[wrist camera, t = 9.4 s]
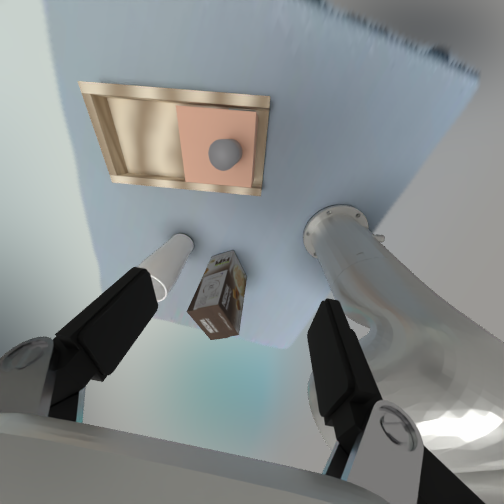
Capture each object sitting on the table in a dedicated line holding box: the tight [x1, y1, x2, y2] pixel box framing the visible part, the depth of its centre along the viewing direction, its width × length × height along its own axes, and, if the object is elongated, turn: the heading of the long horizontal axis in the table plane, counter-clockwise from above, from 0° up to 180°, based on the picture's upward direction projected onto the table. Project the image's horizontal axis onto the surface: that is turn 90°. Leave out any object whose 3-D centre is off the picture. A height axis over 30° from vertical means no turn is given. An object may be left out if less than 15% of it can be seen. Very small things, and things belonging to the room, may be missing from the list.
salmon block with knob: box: [176, 105, 258, 188], centre depth 24 cm, size 10×9×12 cm
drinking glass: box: [137, 234, 194, 302], centre depth 35 cm, size 7×7×15 cm
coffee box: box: [187, 250, 247, 340], centre depth 38 cm, size 9×6×16 cm
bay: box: [78, 81, 270, 196], centre depth 29 cm, size 26×13×4 cm, turn 86°
